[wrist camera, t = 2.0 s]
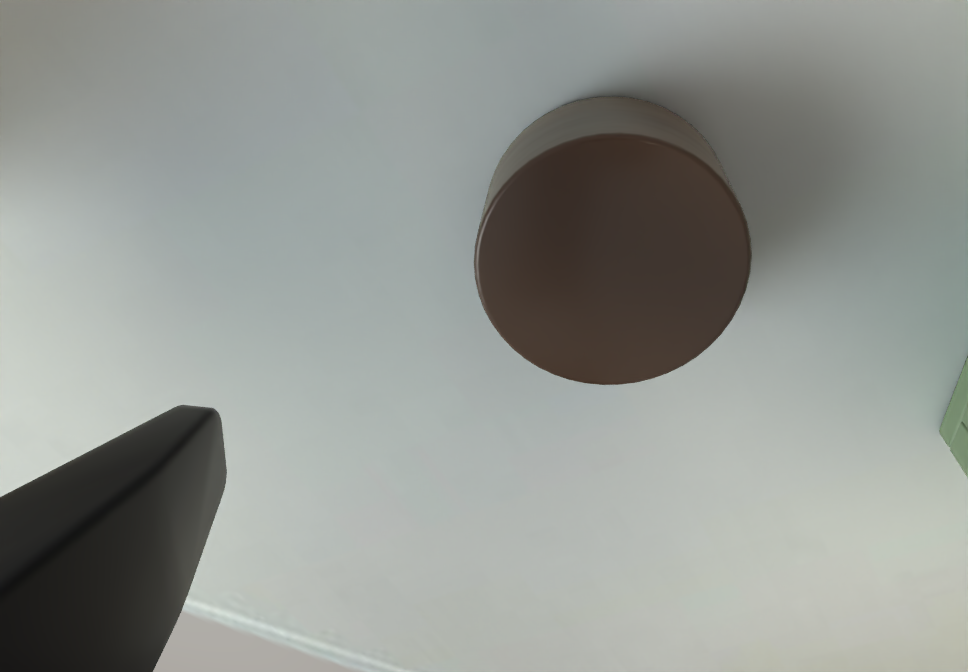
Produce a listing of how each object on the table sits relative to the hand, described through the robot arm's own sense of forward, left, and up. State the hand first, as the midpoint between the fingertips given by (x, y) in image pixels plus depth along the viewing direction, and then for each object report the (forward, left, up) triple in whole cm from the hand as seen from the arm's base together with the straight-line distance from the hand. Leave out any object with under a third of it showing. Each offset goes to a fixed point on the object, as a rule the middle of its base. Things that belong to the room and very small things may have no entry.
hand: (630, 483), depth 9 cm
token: (0, 0, -8) cm, 8 cm away
